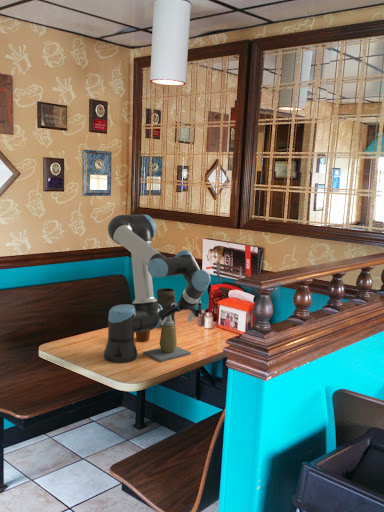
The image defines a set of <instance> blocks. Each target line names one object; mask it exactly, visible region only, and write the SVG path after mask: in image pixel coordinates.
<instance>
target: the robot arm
mask: <svg viewBox="0 0 384 512" xmlns="http://www.w3.org/2000/svg"><path fill="white" fill-rule="evenodd" d="M156 226H157V225H156V222H155V221H154V219H153V218H152V217H151V216H150V215H148V214H142V213H139V214H136V213H135V214H118V215H116V216H114V217H113V218H112V219H110V221H109V222H108V224H107V234H108V236H109V237H110V239H111V240H112V241H113V242H114V243H115V244H117V245H119V246H122V247H124V248H125V249H126V250H128V252H130V256H131V265H132V266H131V268H132V275H133V276H132V277H133V286H134V296H135V298H134V300H133V301H132V304H128V303H124V304H117V305H114V306H112V307H111V308H110V309H109V311H108V318H107V319H108V320H107V321H108V322H107V323H108V325H107V331H108V332H107V343H106V344H105V349H104V350H103V358H104V360H106V361H109V362H111V363H120V364H121V363H129V362H133V361H135V360H137V358H138V351H137V347H136V343H135V334H136V332H141V331H146V330H150V331H152V330H155V329H158V328H159V327H161V326H160V325H163V324H164V322H165V321H166V319H167V316H169V315H171V314H173V313H175V314H176V313H179V312H181V311H187V310H189V311H190V314H189V315H188V317H187V321H188V324H191V323H192V322H193V321H194V319H196V318H198V317H199V315H203V310H202V304H203V303H202V302H201V298H202V296H203V294H204V293H205V292H206V290H207V289H208V288H209V285H210V283H211V281H212V280H211V275H210V273H208V272H207V271H206V270H205V269H201V268H200V266H199V264H198V262H197V261H196V259H195V257H194V255H193V253H191V251H190V250H189V249H188V250H187V249H183V250H181V251H179V252H178V253H176V254H175V256H172V257H170V256H169V257H167V256H166V255H163V254H162V253H161V252H159V251H158V250H157V249H156V248H154V247H153V246H151V244H152V243H153V240H152V239H153V238H155V237H156V233H157V227H156ZM180 275H181V276H183V279H184V281H186V283H187V284H186V287H185V288H184V290H183V292H182V293H181V295H180V297H179V301H177V302H176V303H174V301H172V302H171V303H170V304H169V305H168V306H166V307H165V308H162V306H161V305H160V304H158V302H157V298H155V295H154V285H153V278H165V277H172V276H180ZM196 306H197V308H196Z"/></svg>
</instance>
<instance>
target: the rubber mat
mask: <svg viewBox="0 0 384 512" xmlns="http://www.w3.org/2000/svg"><path fill="white" fill-rule="evenodd" d="M142 353H143V355H145V356H146V357H149V358H150V359H153V360H156V361H158V362H160V363H162V362H167V361H171V360H174V359H178V358H182V357H186V356H190V355H192V351H189V350H186V349H184V348H182V347H179V346H177V345H176V347H175V350H174V352H171V353H166V352H162V351H161V347H158V348H154V349H150V350H145V351H143V352H142Z"/></svg>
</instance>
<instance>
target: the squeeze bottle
mask: <svg viewBox="0 0 384 512" xmlns="http://www.w3.org/2000/svg"><path fill="white" fill-rule="evenodd" d="M159 337H160V338H159V346H160V347H159V348H161V351H162V352H166V353H171V352H174V350H175V347H176V346H177V345H178V344H177V343H178V342H177V328H176V325H174V321H172V319H171V315H169V316H167V320H166V321H165V322H164V325H163V326H161V331H160V336H159Z"/></svg>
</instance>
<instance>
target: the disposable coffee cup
mask: <svg viewBox="0 0 384 512" xmlns="http://www.w3.org/2000/svg"><path fill="white" fill-rule="evenodd" d="M150 334H151V330H146V331H141V332H136V333H135V339H136V341H138V342H139V343H140V342H142V343H144V342H149V341H150V336H151V335H150Z"/></svg>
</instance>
